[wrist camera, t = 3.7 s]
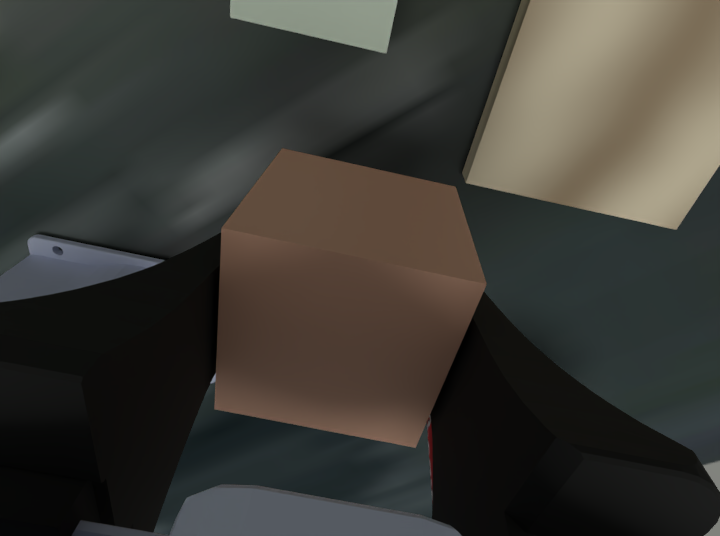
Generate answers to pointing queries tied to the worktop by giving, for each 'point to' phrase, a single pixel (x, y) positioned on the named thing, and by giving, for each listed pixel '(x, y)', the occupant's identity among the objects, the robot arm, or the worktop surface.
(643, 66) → the base slab
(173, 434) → the robot arm
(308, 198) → the terracotta block
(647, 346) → the worktop surface
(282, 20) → the sage block
